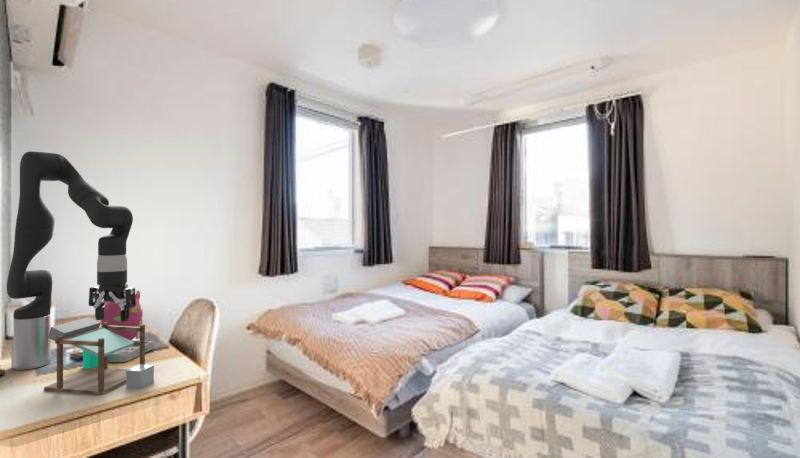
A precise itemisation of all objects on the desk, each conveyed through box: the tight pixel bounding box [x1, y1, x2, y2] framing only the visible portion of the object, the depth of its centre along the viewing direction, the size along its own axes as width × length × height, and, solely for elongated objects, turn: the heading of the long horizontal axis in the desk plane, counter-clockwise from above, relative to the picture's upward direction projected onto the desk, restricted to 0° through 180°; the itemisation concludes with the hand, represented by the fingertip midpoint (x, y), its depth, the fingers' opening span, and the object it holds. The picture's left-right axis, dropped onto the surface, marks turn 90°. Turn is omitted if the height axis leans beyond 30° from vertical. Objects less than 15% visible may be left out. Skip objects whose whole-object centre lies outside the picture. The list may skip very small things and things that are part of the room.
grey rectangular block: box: [125, 363, 155, 390], centre depth 117 cm, size 5×5×6 cm
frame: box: [43, 322, 146, 396], centre depth 118 cm, size 19×16×16 cm
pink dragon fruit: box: [100, 283, 144, 341], centre depth 152 cm, size 18×14×30 cm
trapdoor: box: [48, 316, 134, 357], centre depth 118 cm, size 19×12×4 cm, turn 83°
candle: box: [82, 350, 98, 370], centre depth 131 cm, size 6×6×12 cm
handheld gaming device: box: [108, 340, 155, 363], centre depth 141 cm, size 9×15×4 cm, turn 177°
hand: (112, 320), depth 117 cm, fingers open, 8 cm apart
